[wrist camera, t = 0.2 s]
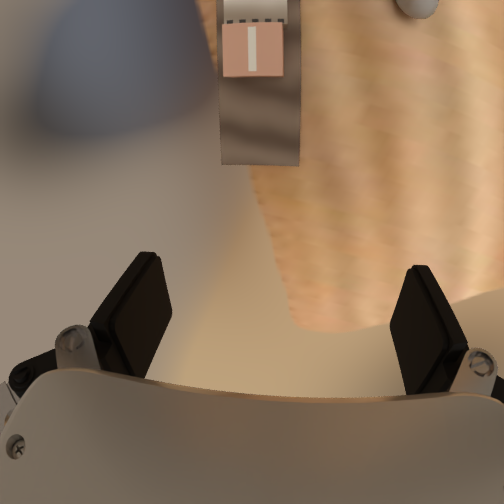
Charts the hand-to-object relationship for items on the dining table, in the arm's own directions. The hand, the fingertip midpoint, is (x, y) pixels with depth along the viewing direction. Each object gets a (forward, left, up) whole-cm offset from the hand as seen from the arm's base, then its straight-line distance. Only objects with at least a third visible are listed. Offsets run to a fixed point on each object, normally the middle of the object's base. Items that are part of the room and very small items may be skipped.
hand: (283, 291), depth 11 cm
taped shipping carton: (-11, -4, -29) cm, 31 cm away
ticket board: (-15, -4, -30) cm, 34 cm away
